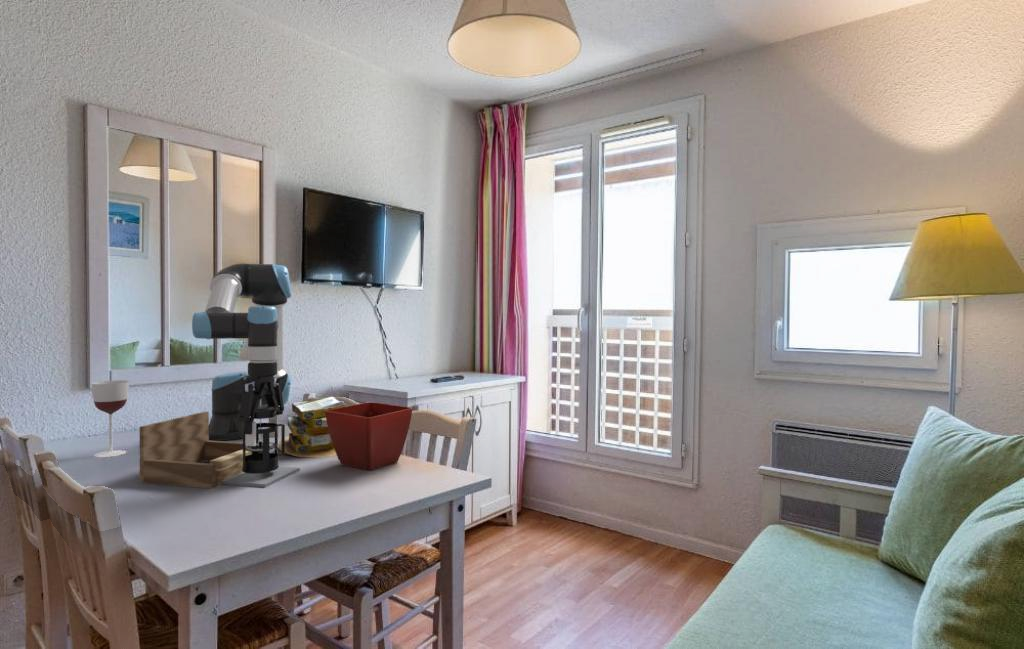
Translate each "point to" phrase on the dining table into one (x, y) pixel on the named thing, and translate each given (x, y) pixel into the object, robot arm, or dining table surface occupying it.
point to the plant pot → (368, 433)
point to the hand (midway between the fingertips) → (262, 441)
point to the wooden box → (181, 452)
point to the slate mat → (261, 477)
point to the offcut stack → (228, 465)
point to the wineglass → (110, 405)
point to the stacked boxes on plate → (310, 429)
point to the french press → (263, 444)
